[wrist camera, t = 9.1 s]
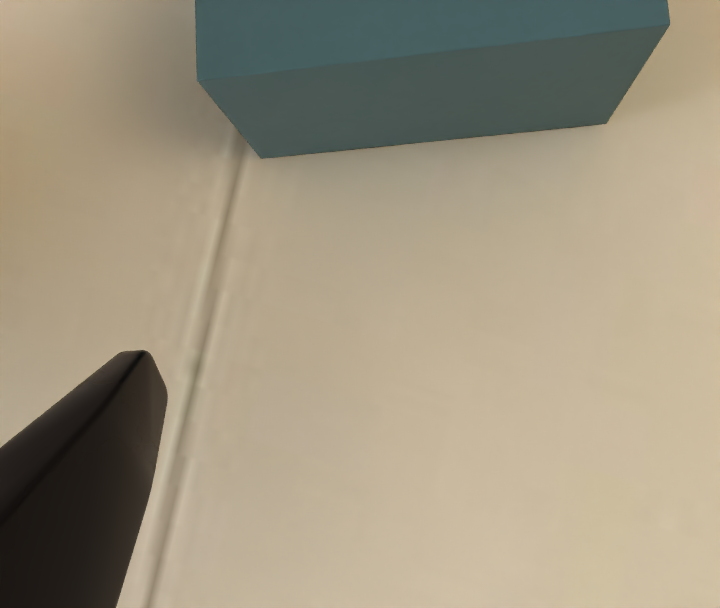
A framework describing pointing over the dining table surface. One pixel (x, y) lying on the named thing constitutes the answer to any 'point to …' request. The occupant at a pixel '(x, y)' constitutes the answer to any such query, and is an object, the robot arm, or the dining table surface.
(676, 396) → the dining table surface
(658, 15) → the small tissue box
